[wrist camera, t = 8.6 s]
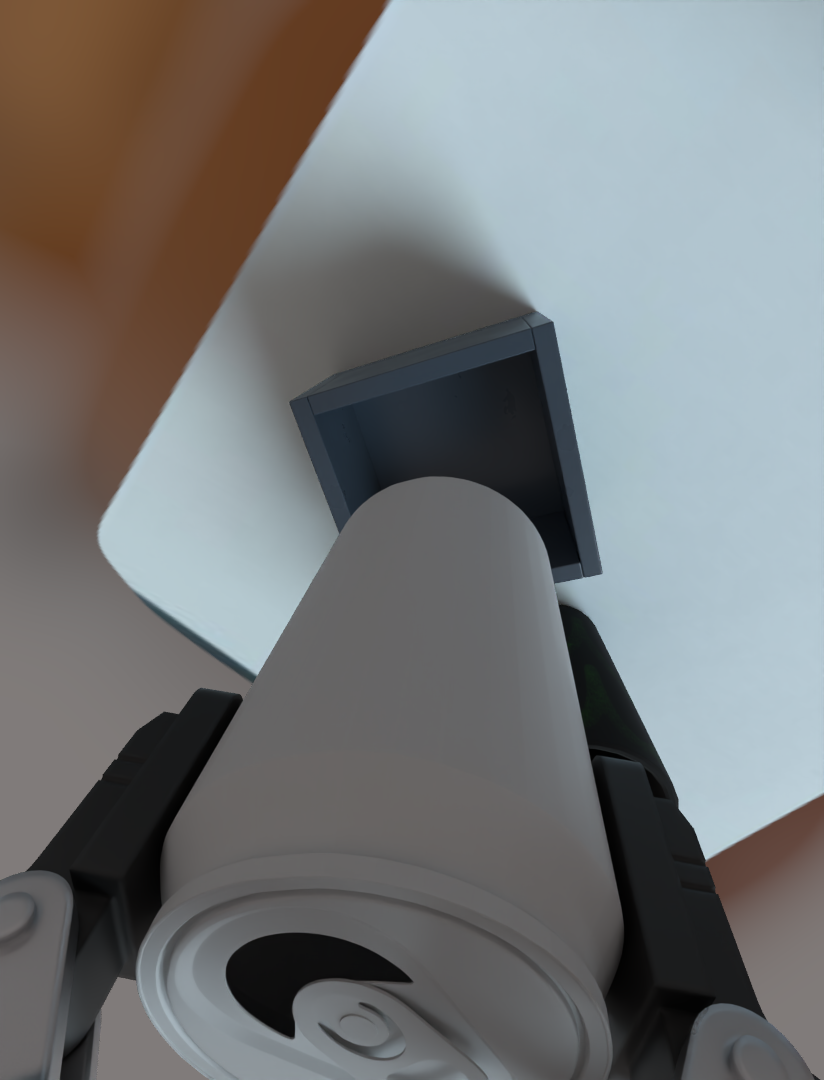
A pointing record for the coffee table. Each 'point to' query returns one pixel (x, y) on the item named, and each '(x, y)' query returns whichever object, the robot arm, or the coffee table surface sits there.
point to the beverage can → (398, 826)
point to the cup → (609, 704)
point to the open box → (460, 431)
